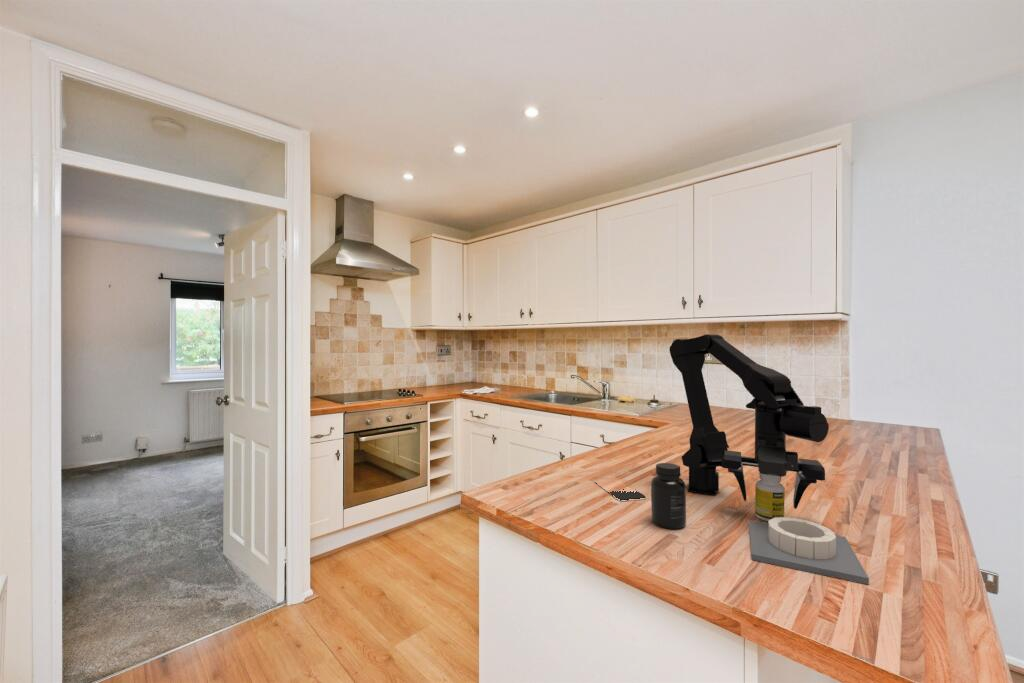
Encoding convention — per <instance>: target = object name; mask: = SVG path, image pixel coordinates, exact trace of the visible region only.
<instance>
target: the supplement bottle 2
mask: <svg viewBox="0 0 1024 683" xmlns="http://www.w3.org/2000/svg"><path fill="white" fill-rule="evenodd" d="M781 482H782V476H778V475H773V474H767V475H766V474H762V473H760V472H759V479H758V480H757V481H756V482H755V488H754V489H755V493H754V494H755V496H754V499H755V500H754V501H755V502H754V515H755V517H757V519H759V520H762V521H765V522H768V521H769V520H771V519H773V518H776V517H785V499H786V498H785V497H786V496H785V495H786V494H785V493H786V492H785V490H786V489H785V486H784V485H783V484H782V483H781Z"/></svg>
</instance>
